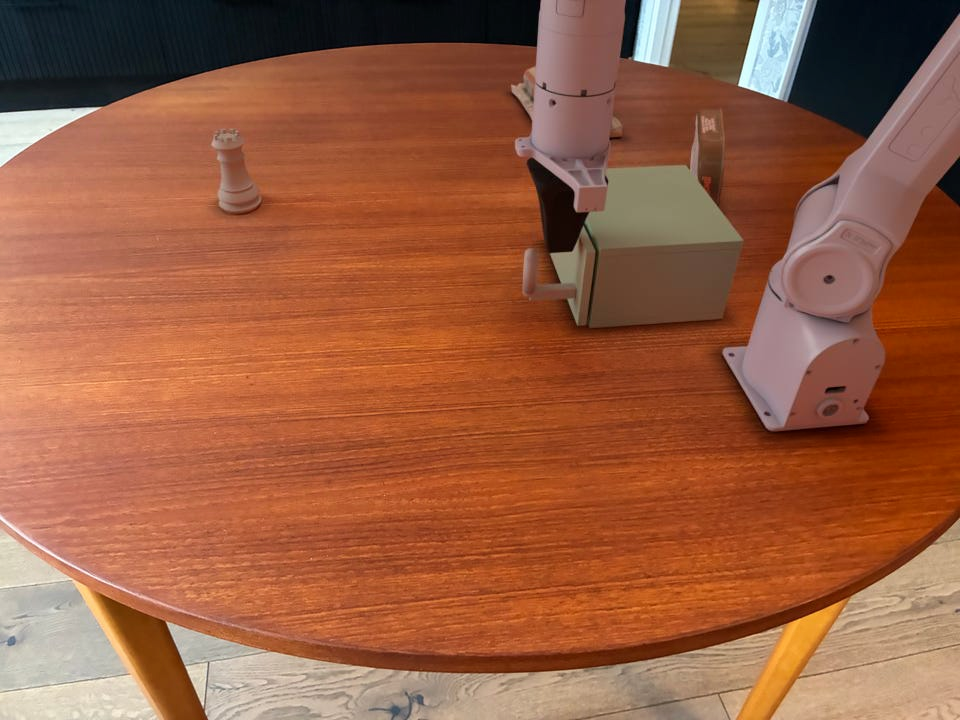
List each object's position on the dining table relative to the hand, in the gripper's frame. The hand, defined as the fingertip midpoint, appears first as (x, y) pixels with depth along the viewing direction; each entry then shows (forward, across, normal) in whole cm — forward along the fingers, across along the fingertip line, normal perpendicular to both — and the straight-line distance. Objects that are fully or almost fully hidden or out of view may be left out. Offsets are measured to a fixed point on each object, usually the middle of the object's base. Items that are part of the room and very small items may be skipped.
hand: (559, 248), depth 62 cm
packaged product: (+7, -44, +11) cm, 46 cm away
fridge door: (+7, -5, 0) cm, 8 cm away
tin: (+7, -20, +21) cm, 30 cm away
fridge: (+7, -5, +9) cm, 12 cm away
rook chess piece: (+7, -24, -29) cm, 38 cm away
